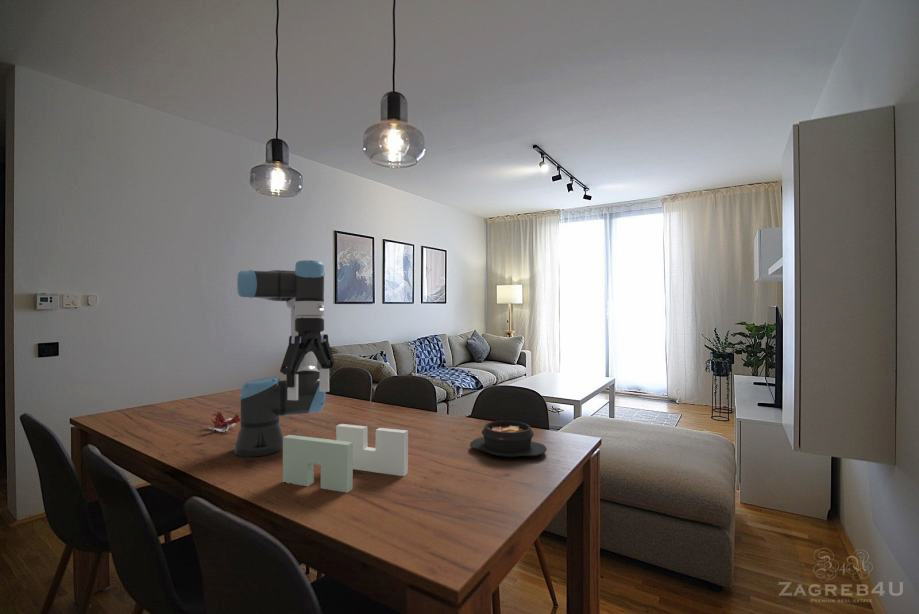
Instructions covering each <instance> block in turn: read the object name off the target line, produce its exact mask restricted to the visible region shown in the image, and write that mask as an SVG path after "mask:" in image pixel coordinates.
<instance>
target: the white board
mask: <svg viewBox="0 0 919 614" xmlns="http://www.w3.org/2000/svg"><path fill="white" fill-rule="evenodd" d="M335 431H336V432H335V433H336V435H335V437H336V439H335V440H338V441H347V442H353V470H357V471H364V472H370V473H371V472H372V473H378V474H385V475H393V476H398V477H405V476H406V475H408V473H409V430H405V429H404V430H403V429H395V428H387V427H385V428H384V427H378V428H377V429H375V443H374V444H375V445H374V447H370V446H368V445H369V444H368V443H369V441H368V438H369V437H368V433H369V432H368V425H366V426H364V425H357V424H347V423H346V424H345V423H340V424H337V425H336V429H335Z"/></svg>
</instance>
